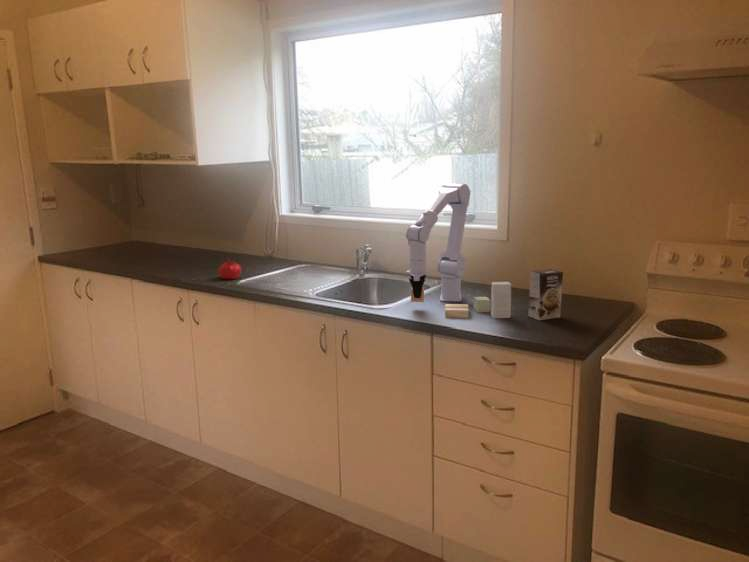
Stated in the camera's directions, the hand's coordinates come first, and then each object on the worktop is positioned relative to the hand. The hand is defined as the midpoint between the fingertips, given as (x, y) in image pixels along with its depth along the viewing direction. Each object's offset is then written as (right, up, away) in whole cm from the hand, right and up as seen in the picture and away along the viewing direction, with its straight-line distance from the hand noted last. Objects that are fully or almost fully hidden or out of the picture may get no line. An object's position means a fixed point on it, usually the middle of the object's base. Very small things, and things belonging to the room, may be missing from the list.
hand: (417, 296), depth 223 cm
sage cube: (+23, -5, -1) cm, 24 cm away
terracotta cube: (0, -2, 0) cm, 2 cm away
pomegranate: (-81, +6, +57) cm, 99 cm away
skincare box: (+28, -7, -9) cm, 30 cm away
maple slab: (+13, -7, -5) cm, 16 cm away
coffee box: (+43, -7, -10) cm, 45 cm away
